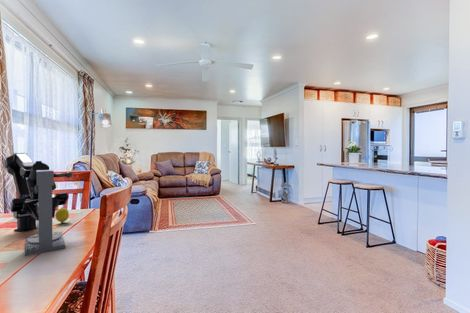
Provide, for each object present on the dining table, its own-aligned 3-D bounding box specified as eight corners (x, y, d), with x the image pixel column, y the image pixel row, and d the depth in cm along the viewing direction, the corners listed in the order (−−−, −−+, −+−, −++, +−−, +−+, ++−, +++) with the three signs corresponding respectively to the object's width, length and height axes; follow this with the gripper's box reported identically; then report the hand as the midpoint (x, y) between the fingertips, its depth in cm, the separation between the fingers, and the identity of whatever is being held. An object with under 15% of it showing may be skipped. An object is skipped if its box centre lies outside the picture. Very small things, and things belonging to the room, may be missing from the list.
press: (26, 241, 105) (25, 168, 104) (68, 234, 114) (68, 166, 113) (24, 257, 90) (23, 172, 89) (73, 247, 99) (73, 170, 98)
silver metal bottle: (34, 234, 103) (34, 198, 102) (49, 231, 107) (49, 196, 106) (40, 237, 100) (39, 200, 100) (54, 233, 104) (54, 198, 104)
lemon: (54, 225, 126) (54, 209, 126) (56, 222, 131) (56, 206, 131) (68, 223, 129) (68, 207, 129) (69, 220, 134) (69, 205, 134)
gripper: (11, 177, 98) (19, 211, 91) (66, 174, 112) (77, 202, 106) (7, 195, 103) (14, 228, 97) (60, 189, 118) (69, 218, 111)
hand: (45, 218), depth 102 cm, fingers closed on silver metal bottle, 5 cm apart
